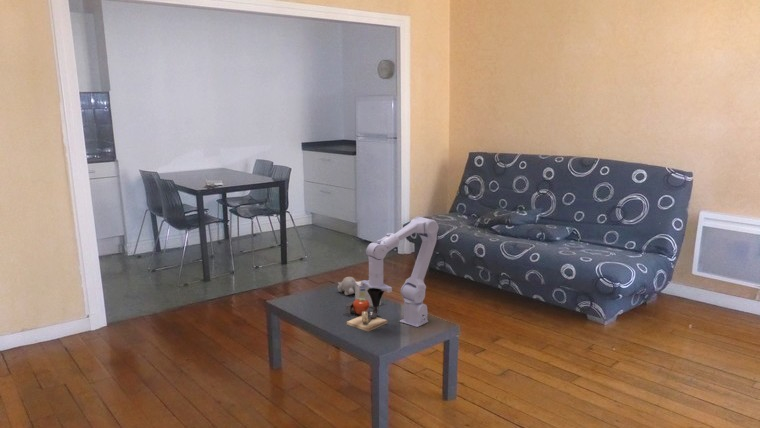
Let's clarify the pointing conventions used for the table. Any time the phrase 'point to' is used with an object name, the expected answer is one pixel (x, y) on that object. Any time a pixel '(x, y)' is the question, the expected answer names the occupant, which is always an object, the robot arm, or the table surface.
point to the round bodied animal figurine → (347, 285)
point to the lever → (369, 315)
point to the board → (370, 325)
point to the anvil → (349, 309)
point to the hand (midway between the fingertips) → (376, 306)
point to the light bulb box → (363, 292)
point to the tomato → (361, 305)
